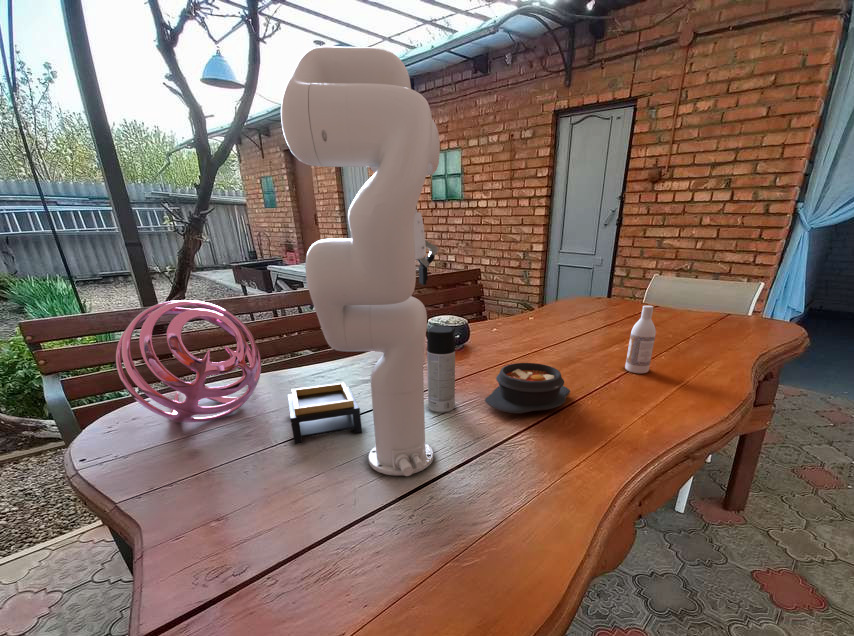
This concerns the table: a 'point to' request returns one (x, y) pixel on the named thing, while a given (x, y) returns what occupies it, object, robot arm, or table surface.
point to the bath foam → (641, 343)
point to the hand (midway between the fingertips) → (403, 285)
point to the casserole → (528, 388)
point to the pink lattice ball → (190, 362)
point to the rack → (323, 411)
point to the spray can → (441, 369)
